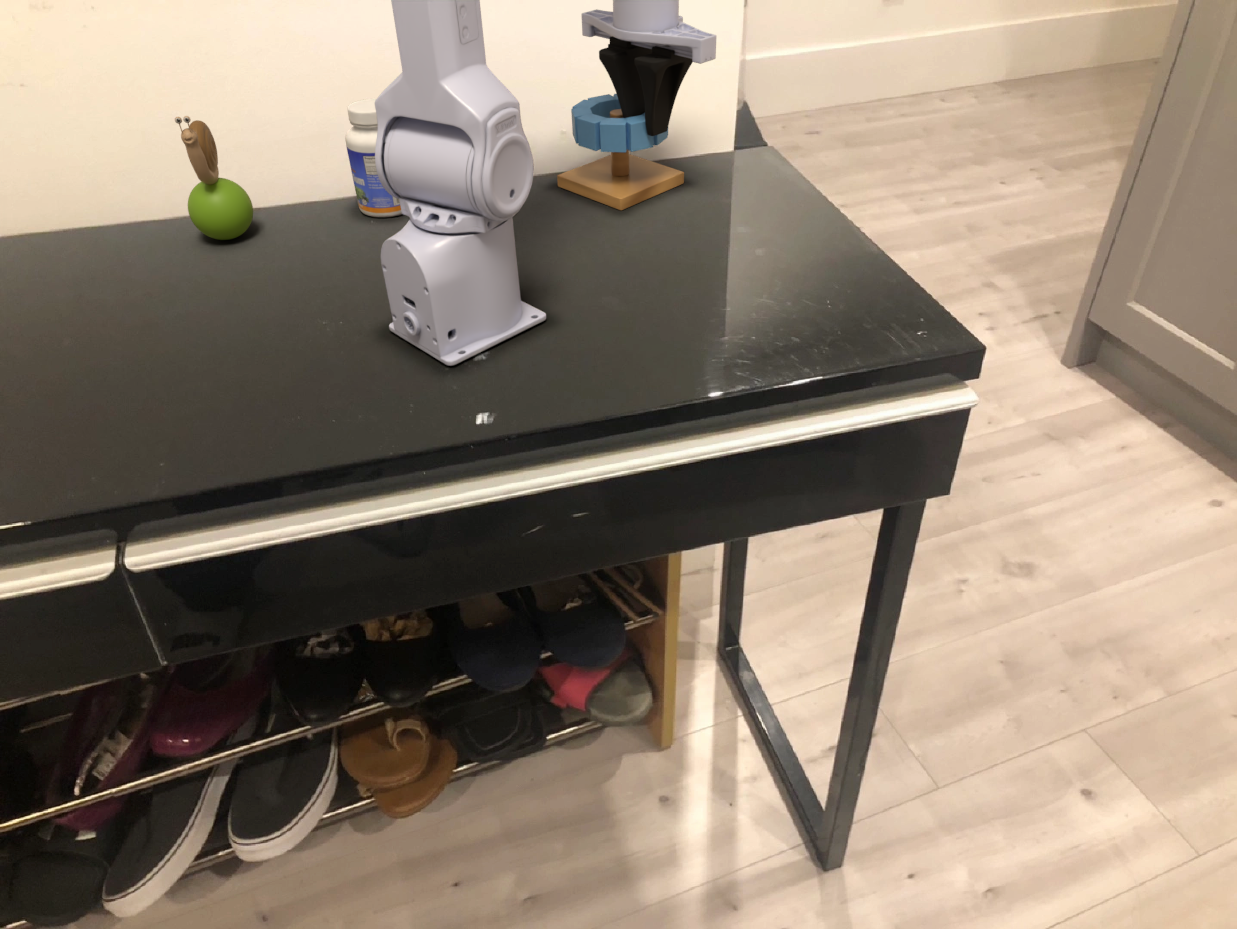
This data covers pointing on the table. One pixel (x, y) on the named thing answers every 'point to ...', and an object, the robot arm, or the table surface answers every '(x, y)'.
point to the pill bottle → (367, 162)
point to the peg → (620, 178)
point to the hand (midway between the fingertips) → (646, 129)
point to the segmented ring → (610, 127)
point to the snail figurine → (213, 188)
